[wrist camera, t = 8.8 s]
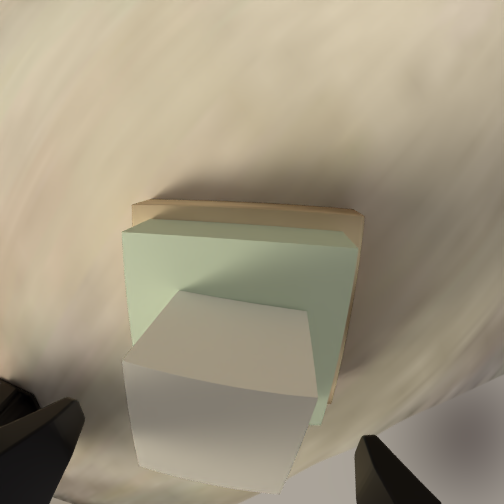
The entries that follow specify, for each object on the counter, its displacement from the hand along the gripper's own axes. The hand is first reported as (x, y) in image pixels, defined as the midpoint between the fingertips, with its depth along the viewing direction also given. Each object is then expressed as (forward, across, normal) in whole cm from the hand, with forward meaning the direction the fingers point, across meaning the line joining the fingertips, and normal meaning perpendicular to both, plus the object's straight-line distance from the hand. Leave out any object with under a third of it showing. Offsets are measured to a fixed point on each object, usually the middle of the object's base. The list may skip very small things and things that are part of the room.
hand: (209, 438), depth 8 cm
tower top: (+8, 0, 0) cm, 8 cm away
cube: (+5, 0, 0) cm, 5 cm away
